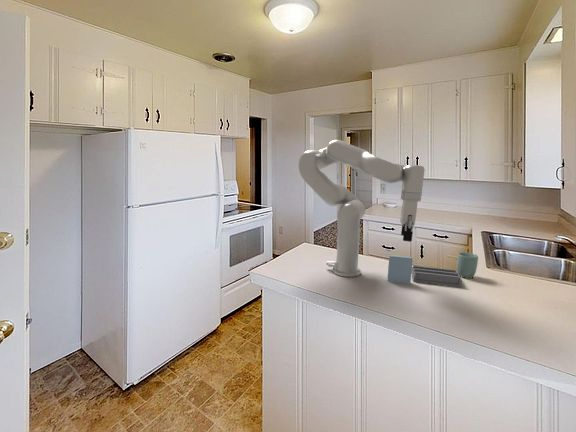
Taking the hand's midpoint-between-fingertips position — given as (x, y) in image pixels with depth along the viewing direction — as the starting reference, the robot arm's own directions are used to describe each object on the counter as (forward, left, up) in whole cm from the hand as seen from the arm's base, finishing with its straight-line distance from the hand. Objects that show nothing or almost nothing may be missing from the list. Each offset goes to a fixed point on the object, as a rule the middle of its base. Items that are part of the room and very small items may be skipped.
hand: (406, 238), depth 127 cm
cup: (+28, +17, -19) cm, 37 cm away
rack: (+14, +7, -19) cm, 24 cm away
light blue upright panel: (-1, 0, -19) cm, 19 cm away
